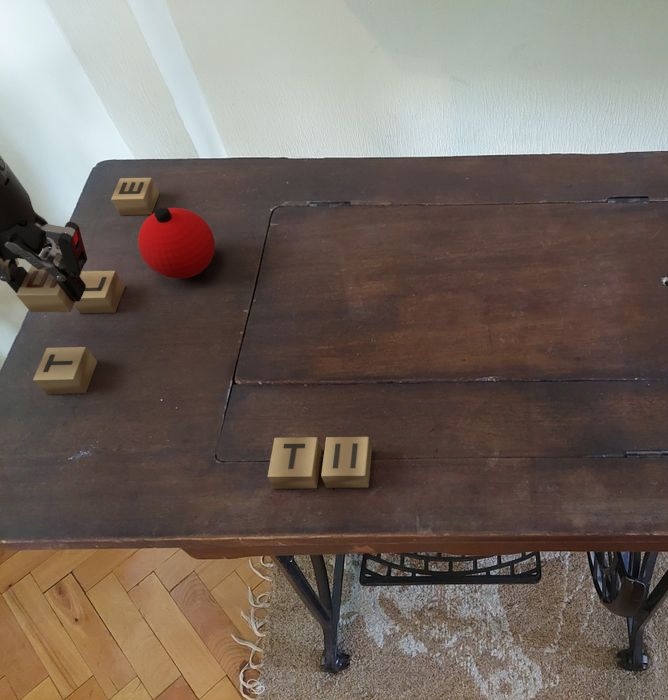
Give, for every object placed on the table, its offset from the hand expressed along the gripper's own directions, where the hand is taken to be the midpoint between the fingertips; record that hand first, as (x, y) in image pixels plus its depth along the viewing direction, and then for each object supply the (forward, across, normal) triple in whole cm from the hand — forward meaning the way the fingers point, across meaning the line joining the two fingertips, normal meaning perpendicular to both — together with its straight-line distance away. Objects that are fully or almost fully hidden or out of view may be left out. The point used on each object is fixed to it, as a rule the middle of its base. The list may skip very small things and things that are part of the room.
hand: (56, 295), depth 74 cm
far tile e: (+8, 0, +24) cm, 25 cm away
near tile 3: (+8, +34, -18) cm, 39 cm away
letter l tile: (+8, 0, +6) cm, 10 cm away
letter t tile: (+8, 0, -6) cm, 10 cm away
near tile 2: (+8, +28, -18) cm, 35 cm away
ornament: (+8, +10, +11) cm, 17 cm away
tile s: (0, 0, 0) cm, 0 cm away
